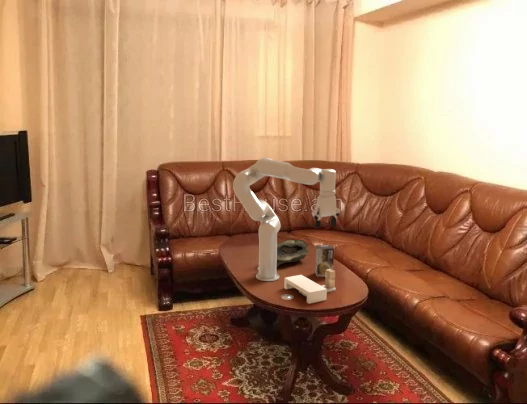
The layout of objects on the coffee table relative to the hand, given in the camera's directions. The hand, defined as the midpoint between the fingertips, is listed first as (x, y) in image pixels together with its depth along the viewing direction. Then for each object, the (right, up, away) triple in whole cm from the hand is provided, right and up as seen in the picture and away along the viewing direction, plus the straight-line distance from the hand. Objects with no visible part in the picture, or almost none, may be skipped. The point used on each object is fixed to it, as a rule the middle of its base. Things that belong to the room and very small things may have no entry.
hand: (325, 226), depth 245 cm
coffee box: (+1, -28, +18) cm, 33 cm away
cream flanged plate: (-11, -32, -9) cm, 36 cm away
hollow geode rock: (-17, -24, +37) cm, 47 cm away
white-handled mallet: (-5, -32, -6) cm, 33 cm away
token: (-20, -34, -14) cm, 42 cm away
